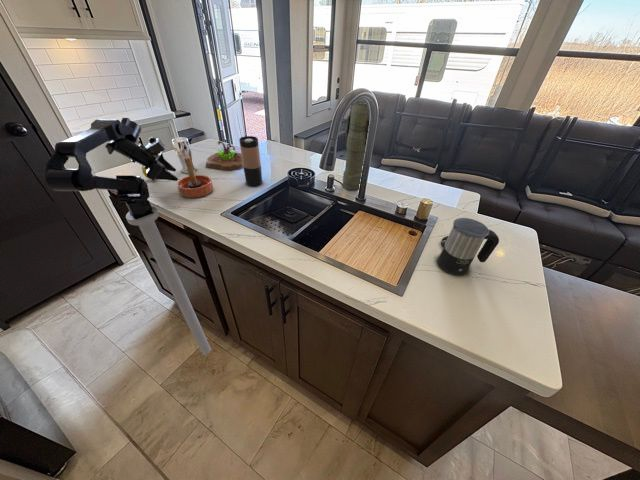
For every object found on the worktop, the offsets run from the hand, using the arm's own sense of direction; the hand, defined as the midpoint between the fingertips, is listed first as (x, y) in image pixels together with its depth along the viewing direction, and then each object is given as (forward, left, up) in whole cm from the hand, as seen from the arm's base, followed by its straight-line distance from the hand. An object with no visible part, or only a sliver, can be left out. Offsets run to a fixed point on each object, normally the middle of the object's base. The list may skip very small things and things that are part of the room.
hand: (176, 175), depth 101 cm
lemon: (-3, +22, -9) cm, 24 cm away
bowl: (+5, -2, -9) cm, 10 cm away
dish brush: (+5, -2, -8) cm, 10 cm away
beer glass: (+13, +20, -9) cm, 26 cm away
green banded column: (+57, -47, -9) cm, 74 cm away
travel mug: (+27, -13, -9) cm, 31 cm away
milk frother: (+39, -99, -9) cm, 107 cm away
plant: (+32, +16, -9) cm, 37 cm away
